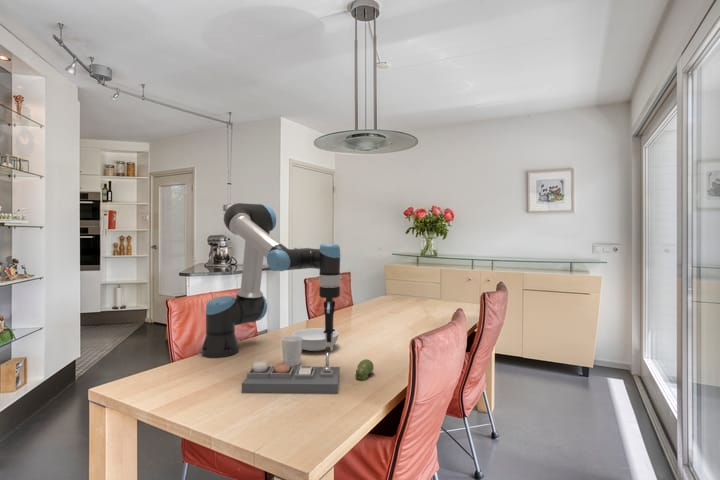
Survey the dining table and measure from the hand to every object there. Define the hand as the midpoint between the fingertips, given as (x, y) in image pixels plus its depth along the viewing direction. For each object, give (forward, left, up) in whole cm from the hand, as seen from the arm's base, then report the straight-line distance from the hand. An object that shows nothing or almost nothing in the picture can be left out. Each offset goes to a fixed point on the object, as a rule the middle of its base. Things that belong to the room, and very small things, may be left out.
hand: (329, 349), depth 142 cm
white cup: (-11, -16, -9) cm, 21 cm away
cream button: (+9, -23, -5) cm, 25 cm away
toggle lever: (+9, 0, -4) cm, 10 cm away
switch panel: (+9, -12, -9) cm, 17 cm away
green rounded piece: (+2, +13, -9) cm, 16 cm away
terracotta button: (+9, -16, -6) cm, 19 cm away
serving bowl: (-31, -9, -9) cm, 33 cm away
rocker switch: (+9, -8, -5) cm, 13 cm away
